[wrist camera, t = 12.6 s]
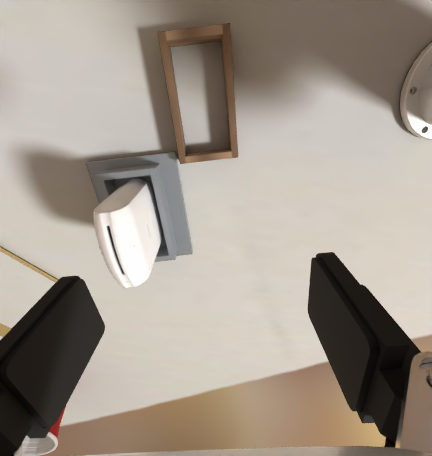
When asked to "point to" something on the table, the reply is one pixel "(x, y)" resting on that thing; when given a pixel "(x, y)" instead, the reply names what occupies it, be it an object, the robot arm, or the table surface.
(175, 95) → the wooden picture frame
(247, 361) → the table surface
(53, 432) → the plastic cup
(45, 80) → the table surface
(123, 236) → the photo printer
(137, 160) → the docking base
